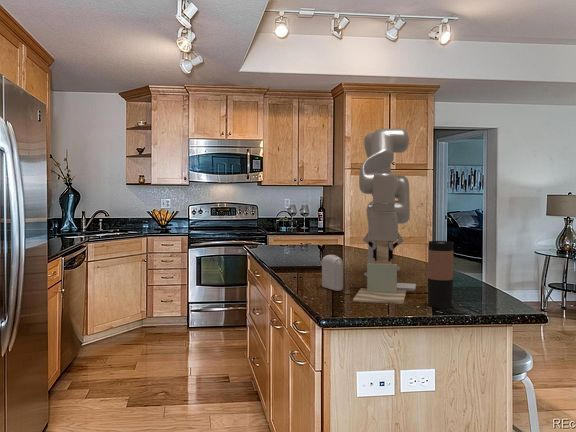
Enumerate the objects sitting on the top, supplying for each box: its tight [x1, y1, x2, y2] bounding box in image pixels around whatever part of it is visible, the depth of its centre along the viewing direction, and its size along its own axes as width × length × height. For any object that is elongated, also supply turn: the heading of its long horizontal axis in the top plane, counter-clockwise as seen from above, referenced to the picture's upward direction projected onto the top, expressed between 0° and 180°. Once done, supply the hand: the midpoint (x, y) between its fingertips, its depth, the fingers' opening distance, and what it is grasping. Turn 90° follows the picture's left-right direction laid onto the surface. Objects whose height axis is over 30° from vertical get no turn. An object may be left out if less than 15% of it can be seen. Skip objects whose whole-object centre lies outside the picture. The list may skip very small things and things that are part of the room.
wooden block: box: [377, 241, 389, 264], centre depth 187 cm, size 4×4×16 cm
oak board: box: [352, 287, 407, 305], centre depth 181 cm, size 20×16×1 cm
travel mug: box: [427, 240, 454, 309], centre depth 167 cm, size 8×8×20 cm
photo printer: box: [321, 254, 344, 292], centre depth 195 cm, size 10×4×12 cm, turn 26°
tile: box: [366, 262, 398, 293], centre depth 185 cm, size 2×10×10 cm, turn 75°
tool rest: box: [397, 282, 417, 292], centre depth 198 cm, size 10×10×1 cm
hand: (382, 260), depth 187 cm, fingers closed on wooden block, 4 cm apart
